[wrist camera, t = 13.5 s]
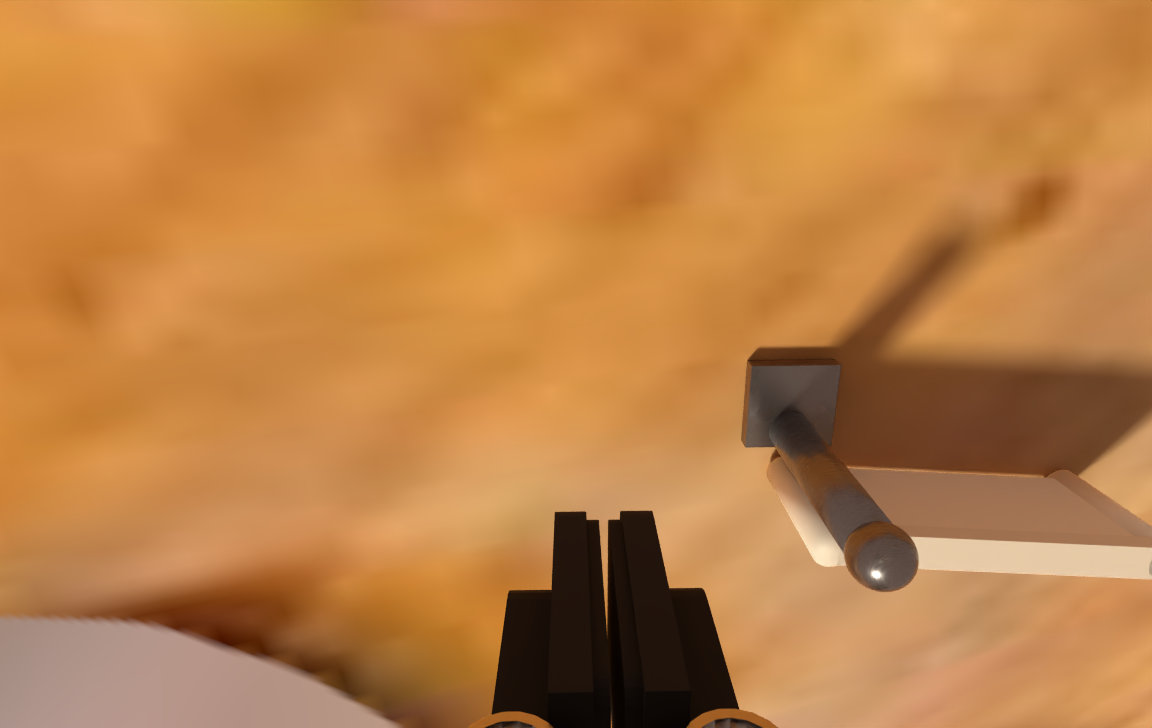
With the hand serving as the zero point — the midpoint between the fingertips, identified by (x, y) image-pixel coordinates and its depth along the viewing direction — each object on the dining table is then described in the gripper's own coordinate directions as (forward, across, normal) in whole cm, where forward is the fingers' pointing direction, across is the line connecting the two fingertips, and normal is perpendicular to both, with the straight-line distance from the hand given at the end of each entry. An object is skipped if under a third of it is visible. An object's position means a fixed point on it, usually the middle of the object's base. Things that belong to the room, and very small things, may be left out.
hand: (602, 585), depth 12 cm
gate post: (+27, -12, +8) cm, 31 cm away
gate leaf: (+27, -20, +13) cm, 36 cm away
